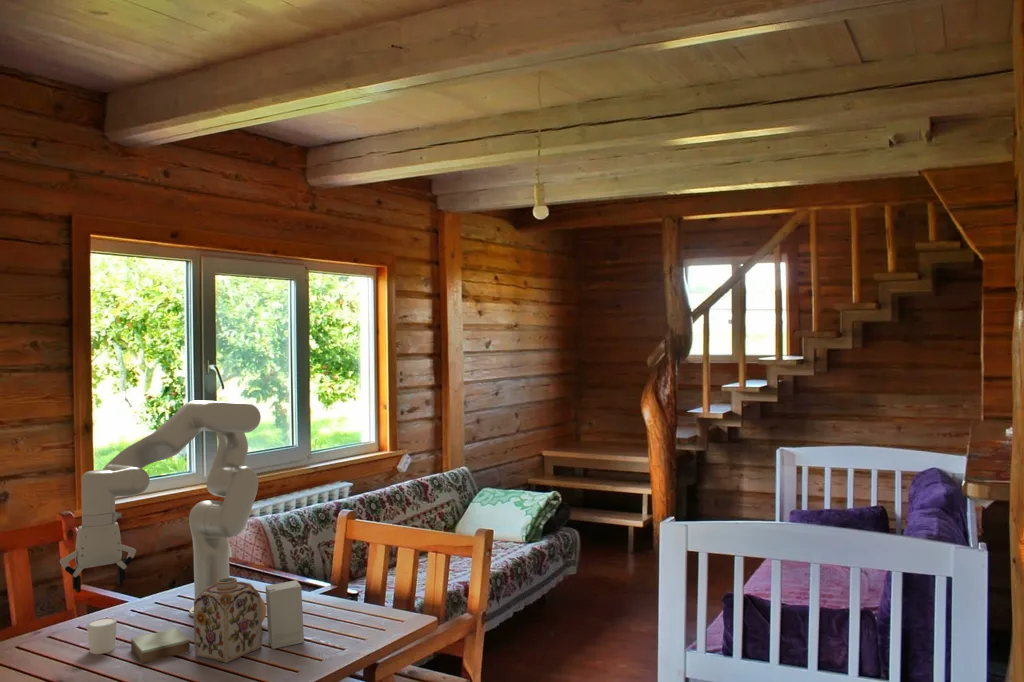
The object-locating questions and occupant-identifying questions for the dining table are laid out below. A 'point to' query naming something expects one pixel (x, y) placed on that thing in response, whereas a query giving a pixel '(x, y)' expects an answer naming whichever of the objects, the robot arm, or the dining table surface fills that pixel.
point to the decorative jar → (227, 620)
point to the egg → (263, 610)
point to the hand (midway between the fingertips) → (99, 587)
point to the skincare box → (284, 614)
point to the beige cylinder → (102, 635)
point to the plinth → (160, 645)
